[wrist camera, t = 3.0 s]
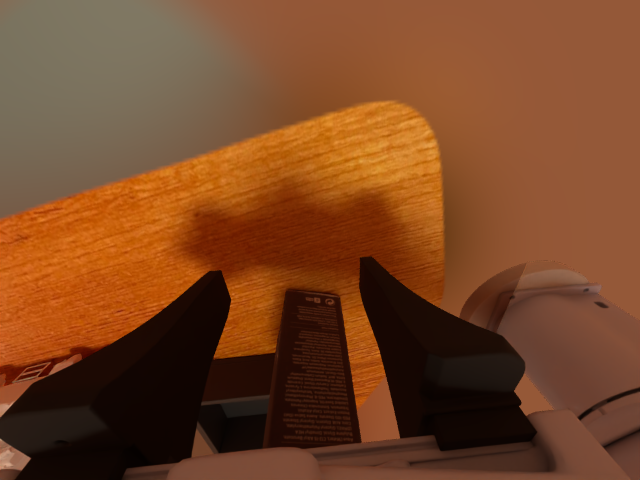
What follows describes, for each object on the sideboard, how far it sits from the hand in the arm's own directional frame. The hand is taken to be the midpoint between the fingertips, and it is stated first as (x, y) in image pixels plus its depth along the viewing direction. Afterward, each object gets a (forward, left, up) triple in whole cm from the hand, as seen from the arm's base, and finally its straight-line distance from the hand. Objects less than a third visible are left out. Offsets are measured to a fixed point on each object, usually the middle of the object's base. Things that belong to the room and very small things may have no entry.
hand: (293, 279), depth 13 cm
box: (0, +7, -4) cm, 8 cm away
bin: (+5, +16, -4) cm, 17 cm away
